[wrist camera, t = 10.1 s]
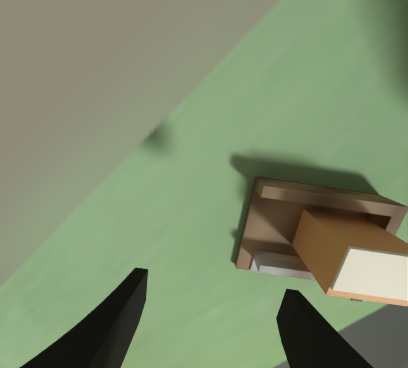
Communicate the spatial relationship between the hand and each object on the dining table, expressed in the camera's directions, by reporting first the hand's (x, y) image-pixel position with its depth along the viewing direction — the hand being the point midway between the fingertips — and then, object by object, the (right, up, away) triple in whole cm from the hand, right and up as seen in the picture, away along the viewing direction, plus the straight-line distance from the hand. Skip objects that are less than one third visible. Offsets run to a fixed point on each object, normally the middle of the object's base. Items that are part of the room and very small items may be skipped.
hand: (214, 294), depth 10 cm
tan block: (+12, +1, +9) cm, 15 cm away
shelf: (+10, +1, +10) cm, 14 cm away
